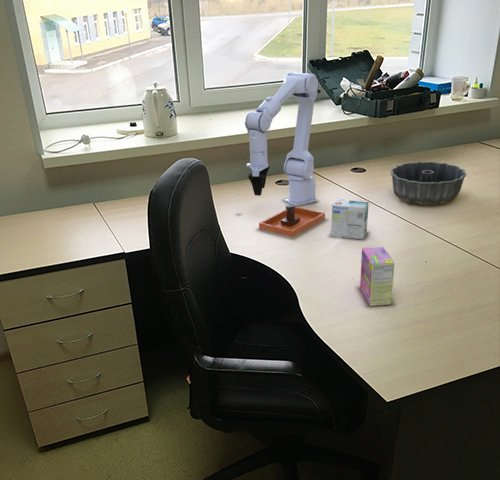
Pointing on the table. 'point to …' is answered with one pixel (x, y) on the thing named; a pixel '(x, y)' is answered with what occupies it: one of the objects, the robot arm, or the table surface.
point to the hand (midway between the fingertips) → (259, 191)
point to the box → (376, 276)
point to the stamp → (290, 216)
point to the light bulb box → (349, 218)
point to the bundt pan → (427, 182)
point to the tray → (306, 221)
